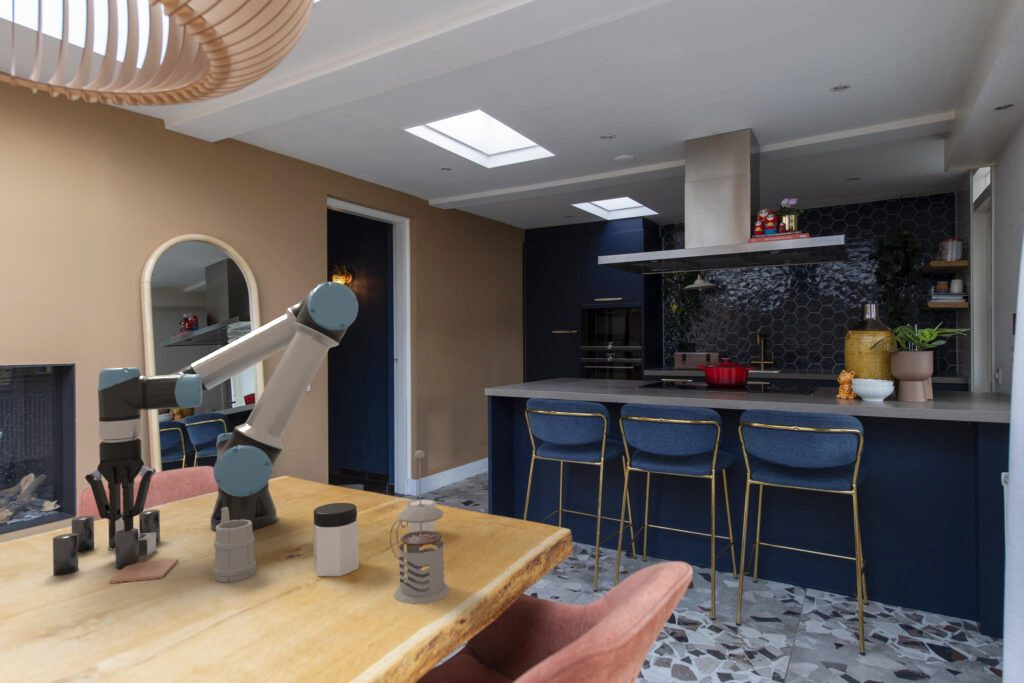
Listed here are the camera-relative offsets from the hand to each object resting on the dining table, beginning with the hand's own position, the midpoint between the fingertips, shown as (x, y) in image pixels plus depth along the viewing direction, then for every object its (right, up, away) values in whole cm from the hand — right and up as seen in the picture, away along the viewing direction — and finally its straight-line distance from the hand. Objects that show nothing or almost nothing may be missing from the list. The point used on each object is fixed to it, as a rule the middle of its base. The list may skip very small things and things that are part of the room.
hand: (122, 549), depth 126 cm
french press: (+67, 0, -22) cm, 70 cm away
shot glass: (+63, 0, +11) cm, 64 cm away
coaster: (+11, -1, -10) cm, 15 cm away
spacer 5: (+1, -1, +8) cm, 8 cm away
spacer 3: (-5, -2, +7) cm, 8 cm away
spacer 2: (-12, -2, +5) cm, 13 cm away
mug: (+29, -1, -11) cm, 31 cm away
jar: (+49, 0, -10) cm, 50 cm away
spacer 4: (+5, -1, -6) cm, 8 cm away
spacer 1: (-6, -1, -8) cm, 10 cm away
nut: (+3, -2, 0) cm, 4 cm away
